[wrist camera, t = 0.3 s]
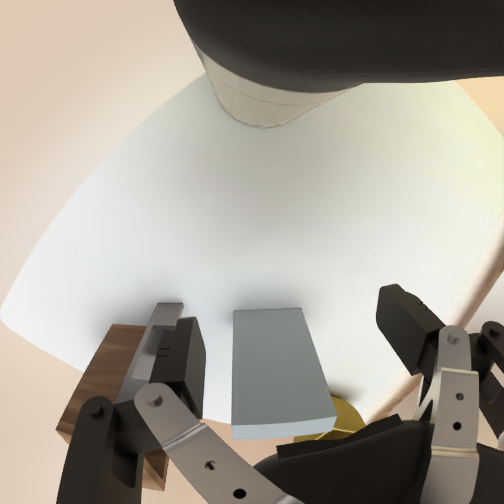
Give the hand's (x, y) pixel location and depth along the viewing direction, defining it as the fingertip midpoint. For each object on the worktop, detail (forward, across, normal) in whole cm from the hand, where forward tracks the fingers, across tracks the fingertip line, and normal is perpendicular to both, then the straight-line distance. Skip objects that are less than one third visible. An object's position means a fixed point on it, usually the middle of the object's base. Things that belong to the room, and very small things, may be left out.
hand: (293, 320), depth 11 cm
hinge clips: (+18, +11, +12) cm, 24 cm away
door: (+18, 0, +13) cm, 22 cm away
